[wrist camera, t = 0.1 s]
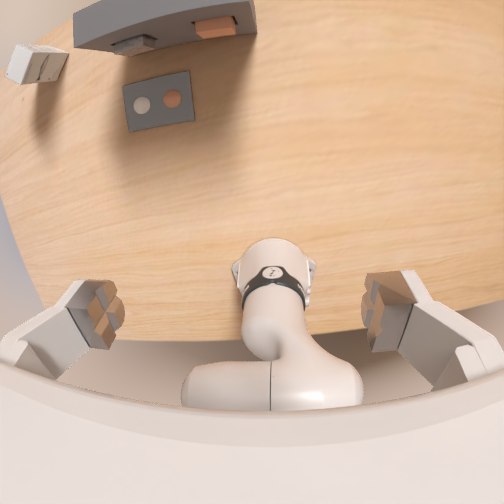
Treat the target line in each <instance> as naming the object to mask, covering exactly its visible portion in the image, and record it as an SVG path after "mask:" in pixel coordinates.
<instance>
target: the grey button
mask: <svg viewBox="0 0 504 504" xmlns="http://www.w3.org/2000/svg"><path fill="white" fill-rule="evenodd" d="M153 49H156V47H155V37H152V36H149V35H147V34H141V35H138V36H134V37H131V38H128V39H125V40H122V41H119V42H116V43H114V54H115V55H122V56H128V57H129V56H132V55H135V54H139V53H142V52H146V51H150V50H153Z"/></svg>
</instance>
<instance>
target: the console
mask: <svg viewBox="0 0 504 504" xmlns="http://www.w3.org/2000/svg"><path fill="white" fill-rule="evenodd" d="M225 16H233V17H234V20H235V31H236V34H235V35H244V34H256V33H257V26H256V16H255V6H254V2H253V0H101V1H99V2H97V3H94V4H92V5H90V6H88V7H86V8H84V9H82V10H80V11H78V12H76V13H74V14H73V37H74V48H80V49H90V50H99V51H106V52H113V53H114V43H116V42H119V41H122V40H125V39H128V38H131V37H134V36H138V35H141V34H147V35H149V36H152V37H155V47H156V49H153V50H157V49H161V48H165V47H169V46H174V45H179V44H183V43H188V42H194V41H199V40H205V39H212V38H218V37H212V38H205V39H203V38H202V37H201V36H199V35H198V34H197V33H196V29H195V21H200V20H205V19H211V18H218V17H225ZM226 36H234V35H226ZM226 36H219V37H226ZM153 50H150V51H153ZM146 52H149V51H146ZM146 52H142V53H146ZM142 53H139V54H142ZM139 54H135V55H139ZM135 55H132V56H135Z"/></svg>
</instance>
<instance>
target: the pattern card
mask: <svg viewBox="0 0 504 504" xmlns="http://www.w3.org/2000/svg"><path fill="white" fill-rule="evenodd" d="M123 94H124V102H125V109H126V116H127V122H128V129H129V132H133V131H138V130H143V129H148V128H153V127H158V126H164V125H169V124H175V123H182V122H188V121H195V116H194V108H193V99H192V90H191V81H190V72H189V71H186V72H180V73H175V74H170V75H166V76H161V77H157V78H153V79H148V80H144V81H141V82H137V83H133V84H129V85H126V86H123Z"/></svg>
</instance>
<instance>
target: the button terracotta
mask: <svg viewBox="0 0 504 504" xmlns="http://www.w3.org/2000/svg"><path fill="white" fill-rule="evenodd" d="M195 29H196V33H197V34H198V35H199V36H201V37H202V38H203V39H205V38H212V37H219V36H226V35H235V34H236V31H235V20H234V17H233V16H225V17H218V18H211V19H205V20H200V21H195Z"/></svg>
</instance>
